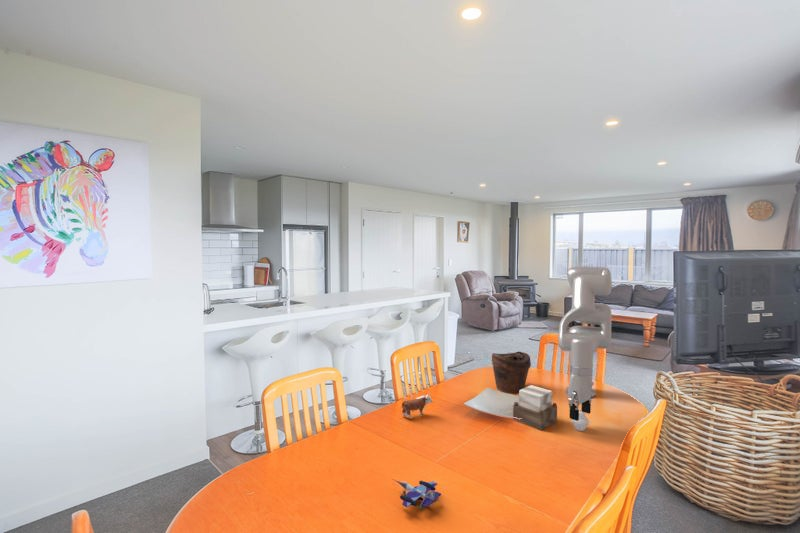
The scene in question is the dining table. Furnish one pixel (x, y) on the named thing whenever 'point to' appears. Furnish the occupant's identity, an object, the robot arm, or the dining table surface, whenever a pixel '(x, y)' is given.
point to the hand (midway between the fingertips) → (580, 415)
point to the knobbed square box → (535, 407)
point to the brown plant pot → (511, 371)
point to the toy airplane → (419, 494)
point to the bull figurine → (415, 405)
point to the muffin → (581, 422)
